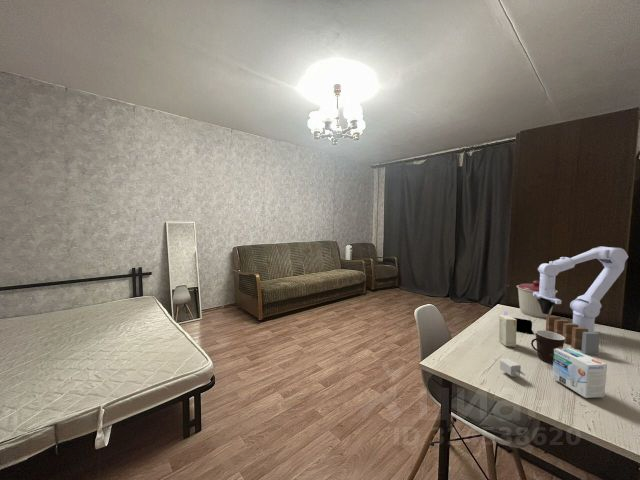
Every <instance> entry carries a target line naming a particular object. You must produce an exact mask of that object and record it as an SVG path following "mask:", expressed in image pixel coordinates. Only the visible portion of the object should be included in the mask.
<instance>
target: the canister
mask: <svg viewBox="0 0 640 480" xmlns="http://www.w3.org/2000/svg"><path fill="white" fill-rule="evenodd" d="M539 285H540V280H533V281H532V283H520V284H518V285H516V288H517V292H518V293H517V294H518V303H519V310H520V313H522V314H524V315H526V316H528V317H533V318H537V319H546V317H547V316H552V311H553V308H554V305H553V306H552V308H551V309H550V312H549V314H543V313H542V310H541V307H540V304H539V302H538V301H537V299H540V297H537V296H533V292H538V293H539ZM557 293H558V289H557V290H556V289H555V292H554V297H556V294H557Z"/></svg>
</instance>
